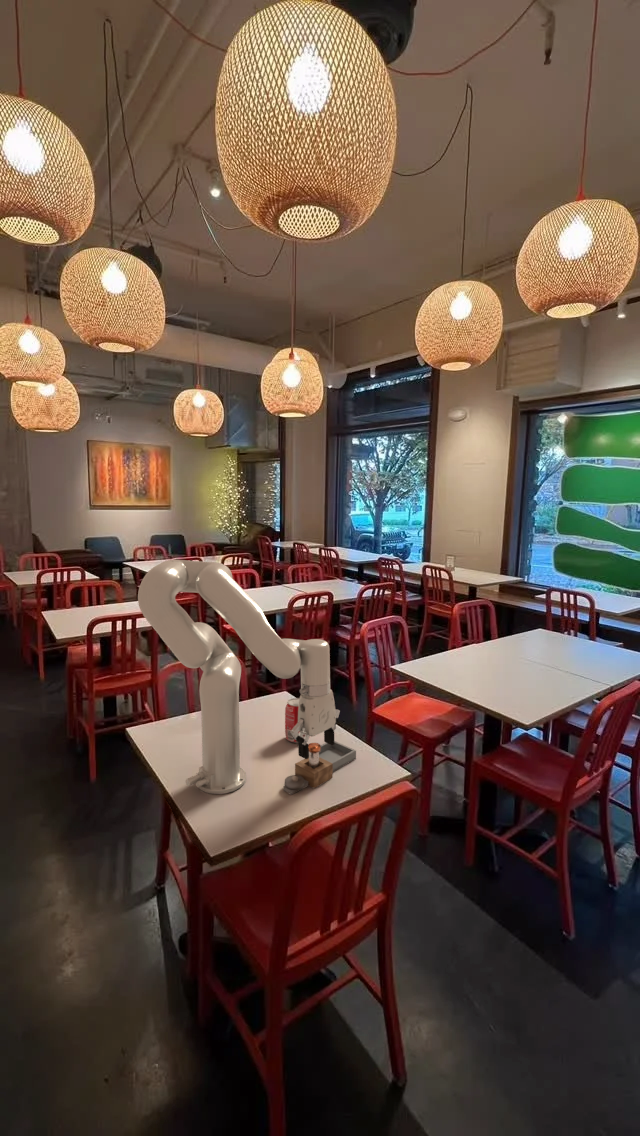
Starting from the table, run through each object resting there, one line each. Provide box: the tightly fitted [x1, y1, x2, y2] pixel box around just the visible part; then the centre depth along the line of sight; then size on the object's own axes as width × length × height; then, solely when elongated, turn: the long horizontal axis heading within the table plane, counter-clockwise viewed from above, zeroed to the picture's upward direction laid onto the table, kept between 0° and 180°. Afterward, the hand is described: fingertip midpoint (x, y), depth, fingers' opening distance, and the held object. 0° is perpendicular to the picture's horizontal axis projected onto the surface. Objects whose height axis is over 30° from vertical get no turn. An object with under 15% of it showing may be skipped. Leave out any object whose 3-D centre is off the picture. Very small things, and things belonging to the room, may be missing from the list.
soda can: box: [284, 697, 306, 744], centre depth 155 cm, size 7×7×12 cm
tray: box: [319, 740, 357, 772], centre depth 143 cm, size 11×9×2 cm
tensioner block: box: [282, 757, 334, 796], centre depth 132 cm, size 13×7×4 cm, turn 137°
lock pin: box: [307, 742, 322, 769], centre depth 133 cm, size 3×3×9 cm
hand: (316, 750), depth 133 cm, fingers open, 9 cm apart
